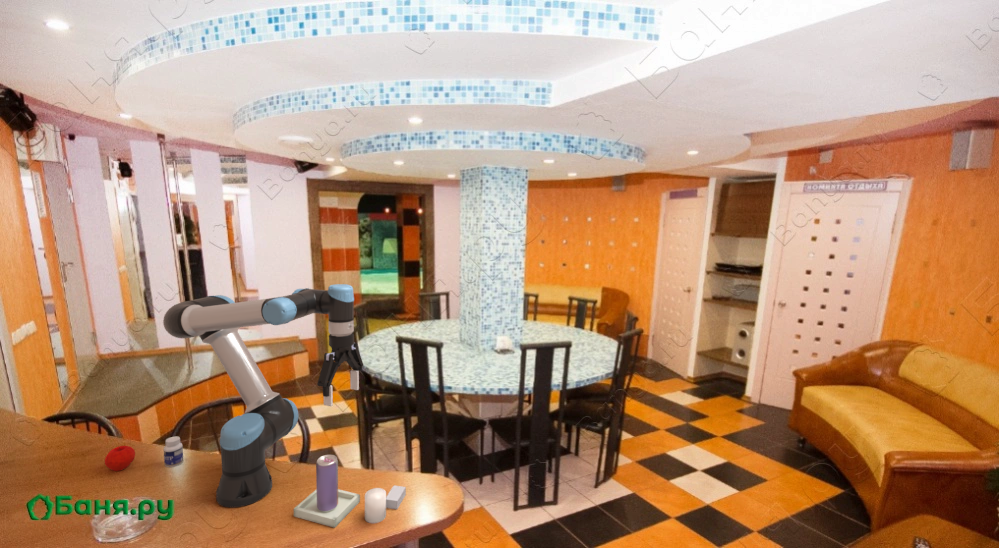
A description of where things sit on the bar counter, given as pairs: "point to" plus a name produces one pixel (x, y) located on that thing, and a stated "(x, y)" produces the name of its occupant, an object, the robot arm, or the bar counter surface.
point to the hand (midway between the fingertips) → (342, 397)
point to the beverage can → (327, 483)
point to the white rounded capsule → (375, 505)
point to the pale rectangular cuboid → (395, 497)
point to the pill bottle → (173, 452)
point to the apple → (120, 458)
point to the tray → (331, 518)
